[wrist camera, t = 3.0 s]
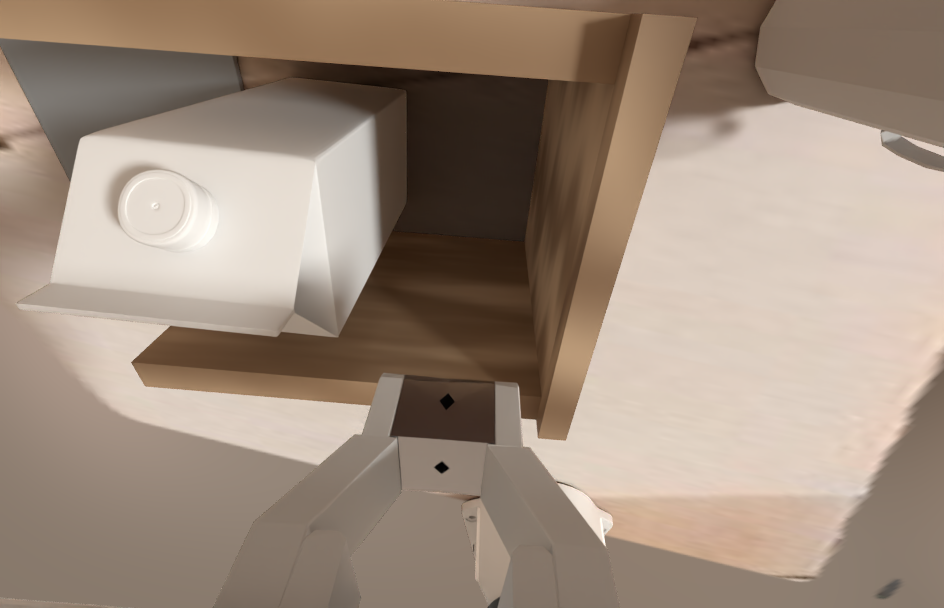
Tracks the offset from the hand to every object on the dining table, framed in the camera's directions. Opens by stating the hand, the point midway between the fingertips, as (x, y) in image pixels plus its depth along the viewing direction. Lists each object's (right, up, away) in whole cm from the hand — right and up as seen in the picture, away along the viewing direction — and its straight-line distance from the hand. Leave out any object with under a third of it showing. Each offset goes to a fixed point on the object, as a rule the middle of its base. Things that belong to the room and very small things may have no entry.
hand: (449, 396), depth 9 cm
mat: (-21, +14, +17) cm, 30 cm away
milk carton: (-7, +13, +17) cm, 23 cm away
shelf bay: (-4, +12, +17) cm, 22 cm away
